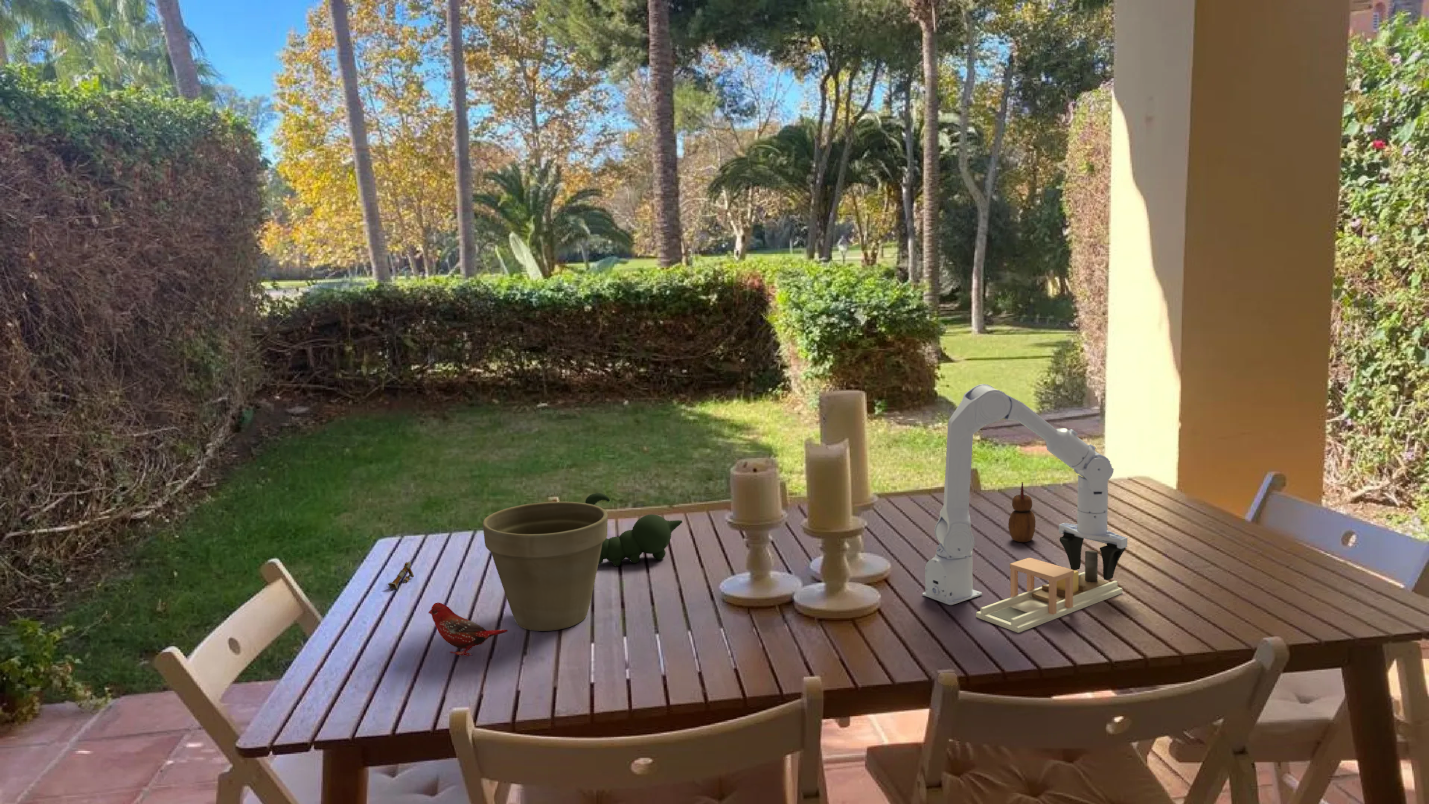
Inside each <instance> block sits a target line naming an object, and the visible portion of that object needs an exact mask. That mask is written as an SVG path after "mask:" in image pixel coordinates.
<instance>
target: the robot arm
mask: <svg viewBox="0 0 1429 804" xmlns="http://www.w3.org/2000/svg"><path fill="white" fill-rule="evenodd" d="M1004 419H1005V420H1006V421H1015V422H1018V423H1020V424H1021V425H1022V426H1025V428H1027V429H1028V430H1030V431H1031V432H1033V433H1034V434H1035V435H1037V436H1039V437H1040V438H1042V439H1043V440H1044V441H1045V444H1046V449H1047V452H1049V453H1050V454H1052V455H1053V456H1055V457H1056V459H1058V460H1060V461H1061V462H1063V463H1064V464H1065V465H1067V466H1068V467H1070V469H1073V471H1074V472H1075V473H1076V474H1079V475H1077V505H1076V507H1077V509H1076V510H1077V511H1076V512H1077V514H1076V515H1077V516H1076V518H1077V519H1076V522H1077V523H1076V524H1074V523H1067V522H1063V523H1060V524H1058V534H1061V535H1062V536H1060V537H1059V542H1060V544H1061V546H1062V547H1063V549H1064V551H1065V553H1066V556H1067V559H1068V562H1069V566H1070V569H1072V570H1075V571H1078V570H1080V569H1081V566H1082V565H1081V564H1082V563H1081V561H1082V548H1083V542H1084V539H1086V540H1090V541H1094V542H1097V543H1101V544H1105V545H1104V546H1100V547H1099V551H1100V554H1101V558H1102V576H1103V581H1110V580H1112V579H1113V578H1114V576H1115V575H1114V574H1115V570H1116V567H1117V565H1118V562H1119V560H1120V559H1121V557H1122V555H1123V554H1124V552H1125V550H1126V548H1128V537H1126V536H1122V535H1120V534H1118V533H1115V532H1113V531H1111V530H1108V515H1109V514H1108V513H1109V512H1108V510H1109V488H1108V487H1109V485H1108V484H1109V480H1110V479H1111V477H1112V476H1113V474H1114V470H1115V469H1114V468H1113V466H1112V464H1111V461H1110V460H1109V458H1108V457H1106V456H1105V455H1103V454H1101V453H1099V452H1098V451H1096V449H1097V448H1096V447H1095V446H1094V445H1093V444H1091V443H1090V444H1088V443H1086V442H1085V441H1084V440H1083V439H1081V438H1079V436H1078V435H1079V433H1078V432H1077V431H1075V430H1074V429H1073V428H1071V429H1068V428H1066V427H1065V428H1064V427H1061V428H1055V427H1053V425H1052V424H1050V423H1049V422H1048V421H1047V420H1045V419H1044V418H1043V417H1042V416H1040V415H1039V414H1037V413H1036V412H1035V411H1034V410H1032V409H1031V408H1030V407H1029V406H1028V405H1026V404H1025V403H1024V402H1023V401H1020V400H1018V399H1017V398H1015V397H1013V396H1010V395H1009V394H1007V393H1005V392H1004V391H1002V390H1000V389H996V388H995V387H993V386H991V385H990V384H986V383H981V384H977V385H975V386H973V387H972V388H971V389H969V390H968V391H966V392H965V393H964V394H963V397H962V399H961V401H960V403H959V404H958V405H957V407H956V409H955V410H954V412H952V414H951V416H950V418H949V419H948V421H947V422H948V423H947V434H946V437H947V439H946V451H945V452H946V453H945V455H946V456H945V470H944V473H945V474H944V488H943V489H944V491H943V492H944V493H943V504H942V505H943V506H942V508H941V509H940V511H939V518H938V519H937V522H936V523H935V526H934V530H933V531H934V537H935V539H937V541H938V542H939V543H938V545H937V548H936V550H935V555H934V556H933V557H932V558H931V559H929V560H928V561H927V562H926V564H925V568H924V581H925V583H924V585H925V586H924V588H925V591H924V592H921V593H922V596H924V597H927V598H930V599H932V600H935V601H938V602H940V603H943V604H945V605H949V606H953V605H956V604H958V603H962V602H964V601H968V600H971V599H974V598H976V597H979V596H980V597H981V596H982V595H983V592H982V591H978V590H975V589H974V588H973V585H974V584H973V550H974V547H975V541H976V540H975V537H974V535H973V533H972V529H971V527H972V520H971V516H970V511H969V509H970V492H971V478H972V477H971V475H972V458H973V457H972V455H973V441H974V434H975V433H977V432H978V431H979V430H981V429H982V428H984V427H985V426H987V425H990V424H993V423H996V422H999V421H1001V420H1004Z"/></svg>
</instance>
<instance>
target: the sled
mask: <svg viewBox="0 0 1429 804" xmlns="http://www.w3.org/2000/svg"><path fill="white" fill-rule="evenodd" d="M1084 553H1085V554H1084V558H1085V559H1084V572H1085V575H1082V576H1080V577H1079V578H1078V591H1076V592H1073V596H1074V595H1077V594H1080V593H1083V592H1085V591H1088V590H1091V589H1093V588H1096V587H1099V586H1102V585H1104V584H1107V583H1109V582H1108V581H1106V580H1102V579H1099V578H1098V573H1099V572H1098V569H1099V567H1098V564H1099V562H1098V561H1099V559H1098V558H1099V551H1096V550H1091V549H1090V550H1089V549H1088V550H1085V551H1084ZM1041 587H1042V590H1040V591H1037V592H1034V593H1032V597H1033V598H1036V599H1039V600H1042V601H1045V602H1048V603H1049V586H1048V584H1042V585H1041ZM1064 599H1065V591H1064V590H1061V589H1057V601H1056V602H1058V601H1061V600H1064Z"/></svg>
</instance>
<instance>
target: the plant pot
mask: <svg viewBox="0 0 1429 804" xmlns="http://www.w3.org/2000/svg"><path fill="white" fill-rule="evenodd" d="M608 517H609V514H608V512H607V510H606V509H604V508H602V507H601V506H598V505H596V504H595V505H592V504H586V503H585V502H575V501H545V502H535V503H533V502H532V503H527V504H520V505H516V506H511V507H510V506H509V507H507V508H504V509H501V510H498V511H495V512H494V513H491V514H490V515H488V516H486V517H485V518H484V519H483V521H482V531H483V538H484V546H485V548H486V549H487V550H488V551H489V552H491V556H492V560H493V562H494V566H495V568H496V571H497V575H498V577H499V580H500V583H501V586H502V588H503V591H504V593H505V597H506V600H507V603H508V605H509V608H510V612H511V615H512V616H513V619H514V622H515V623H516V624H517V626H519V627H520V628H522V629H524V630H528V631H532V632H533V631H534V632H550V631H551V632H552V631H559V630H563V629H568V628H571V627H573V626H576V625H578V624H580V623H581V622H582V621H584V620H585V619H586V617H587V615H588V612H589V609H590V605H591V600H592V595H593V592H594V586H595V581H596V577H597V572H598V567H599V564H598V563H599V558H600V553H601V548H602V542H604V541H605V539H606V538H607V537H608V520H609V519H608ZM607 539H608V538H607Z"/></svg>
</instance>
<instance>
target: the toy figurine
mask: <svg viewBox="0 0 1429 804" xmlns="http://www.w3.org/2000/svg"><path fill="white" fill-rule="evenodd" d="M601 501H606V502H608V503H609V502H611V499H610V497H609V496H608V495H607V494H605V493H602V492H596V493H592V494H590V495H588V496H587V497H586V498H585V501H584V503H586V504H592V505H596V504H597V503H599V502H601ZM682 523H683V520H681V519H680V520H677V519H675V520H667V519H665V518H664V517H663V516H660V515H658V514H652V513H651V514H646V515H643V516H641V517H640V518H638V520H636V522H635V523H634V524H633V527H632V529H628V530H625V531H623V532H622V533H620V535H619V536H611V537H610V538H606V539H605V541H604V542H602V548H601V553H600V558H599V563H598V565H601V564H602V563H603V562H604V560H607V561H609V562H611V563H612V565H613V566H614V567H620V566H621V564H622V561H624V560H625V559H629V561H630V562H631V563H632V564H637V563H638V562H640V559H641V555H642V554H648V555H651V556H653V558H654V560H657V561H659V560H663V559H664V558H665V557H666V553H667V552H666V550H665V549H666V548H667V547H668V545H669V544H670V542H671V538H672V533H673V532H674V531H675V530H676V528H678V527H680V526H681V524H682Z"/></svg>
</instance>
